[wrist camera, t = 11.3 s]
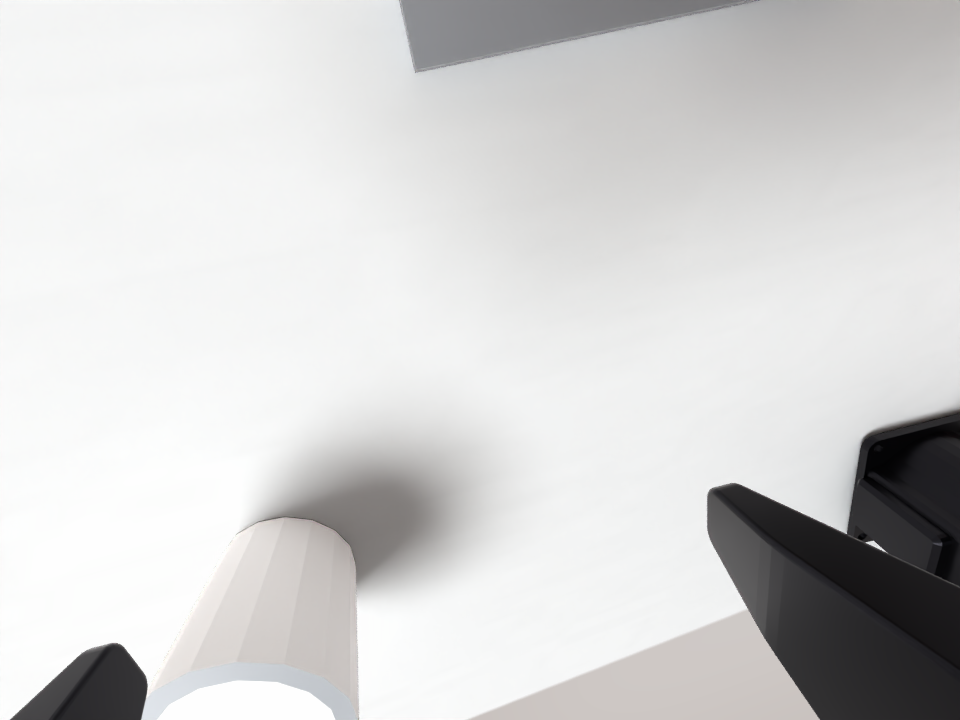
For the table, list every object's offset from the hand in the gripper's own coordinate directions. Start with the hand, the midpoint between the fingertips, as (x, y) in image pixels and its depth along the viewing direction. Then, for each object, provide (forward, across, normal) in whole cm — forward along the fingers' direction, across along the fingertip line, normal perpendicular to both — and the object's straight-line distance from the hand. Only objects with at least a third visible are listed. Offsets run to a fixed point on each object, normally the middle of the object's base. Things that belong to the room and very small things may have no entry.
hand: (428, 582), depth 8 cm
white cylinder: (+12, +8, +10) cm, 18 cm away
